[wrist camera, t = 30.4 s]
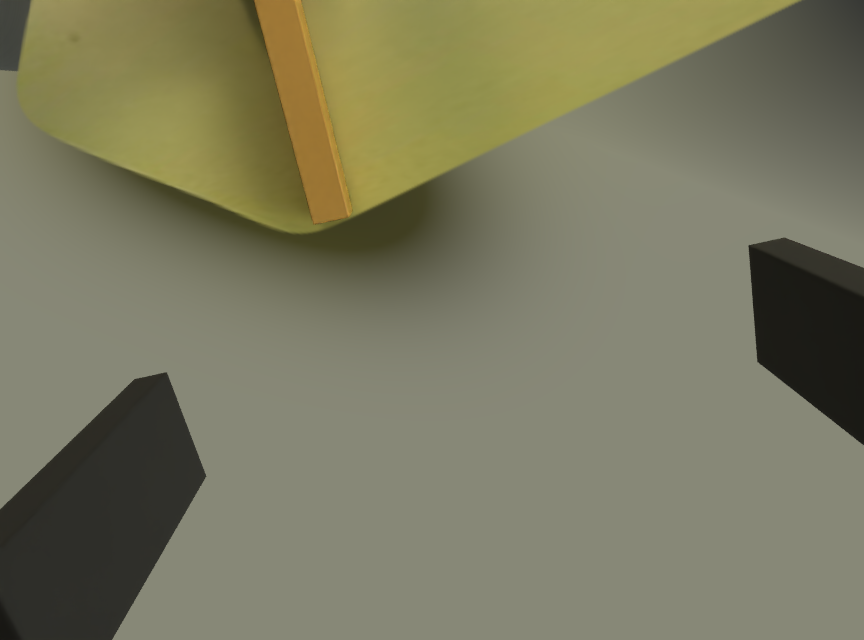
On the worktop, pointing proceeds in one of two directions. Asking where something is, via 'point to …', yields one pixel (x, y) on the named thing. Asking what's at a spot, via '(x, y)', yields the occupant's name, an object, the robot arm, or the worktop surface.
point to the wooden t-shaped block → (304, 108)
